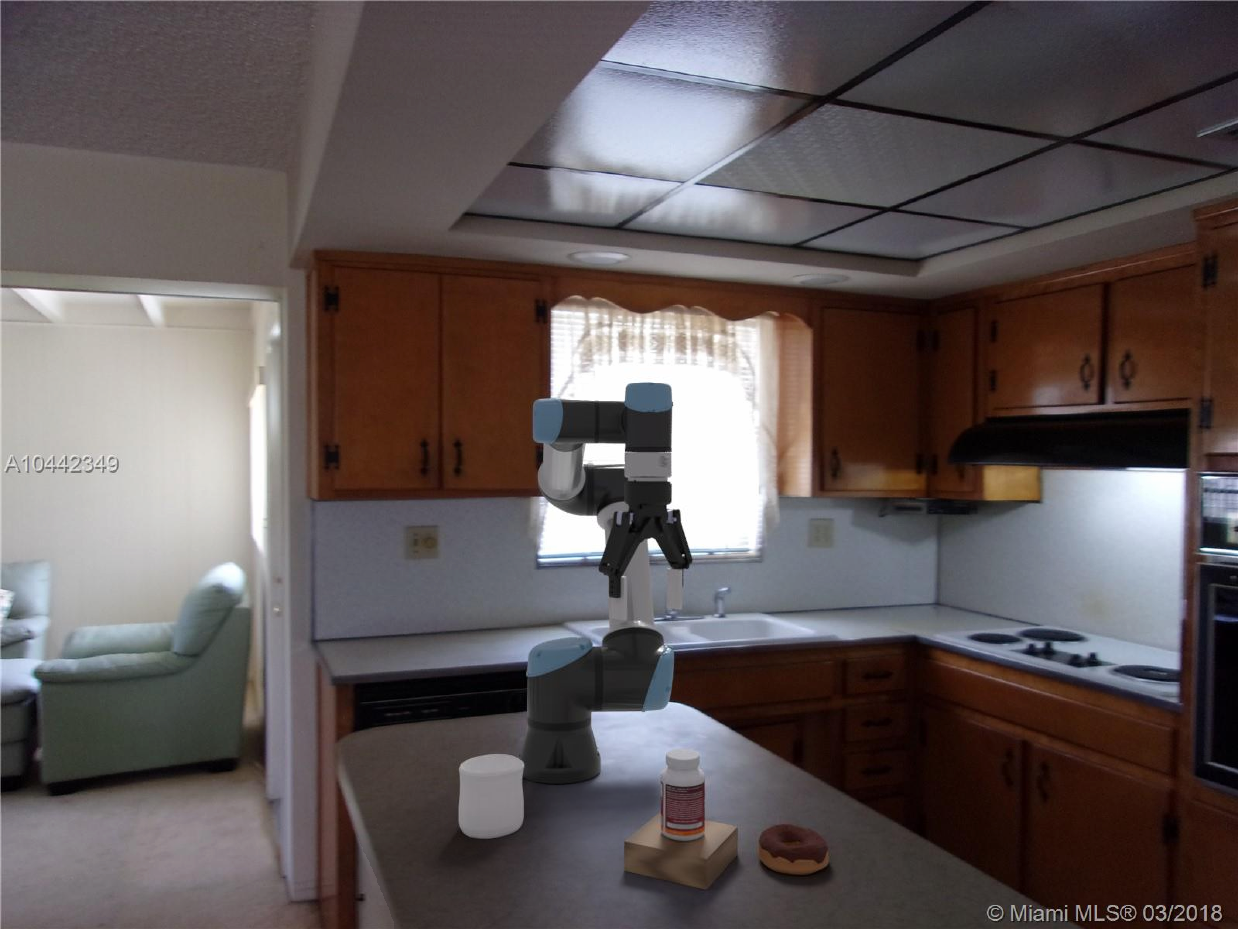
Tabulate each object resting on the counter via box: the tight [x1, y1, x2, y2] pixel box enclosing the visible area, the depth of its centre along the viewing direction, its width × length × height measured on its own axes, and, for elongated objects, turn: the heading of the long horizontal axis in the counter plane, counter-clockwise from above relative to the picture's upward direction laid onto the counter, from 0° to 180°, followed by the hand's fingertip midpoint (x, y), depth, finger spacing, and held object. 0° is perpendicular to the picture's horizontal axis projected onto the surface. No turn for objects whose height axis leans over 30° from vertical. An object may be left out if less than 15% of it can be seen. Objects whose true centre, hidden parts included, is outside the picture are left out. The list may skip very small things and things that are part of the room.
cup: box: [458, 753, 525, 840], centre depth 138 cm, size 10×10×10 cm
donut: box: [757, 823, 830, 876], centre depth 126 cm, size 10×10×4 cm
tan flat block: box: [623, 811, 739, 891], centre depth 126 cm, size 12×12×4 cm
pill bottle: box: [660, 748, 706, 841], centre depth 126 cm, size 6×6×11 cm
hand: (647, 614), depth 143 cm, fingers open, 13 cm apart
